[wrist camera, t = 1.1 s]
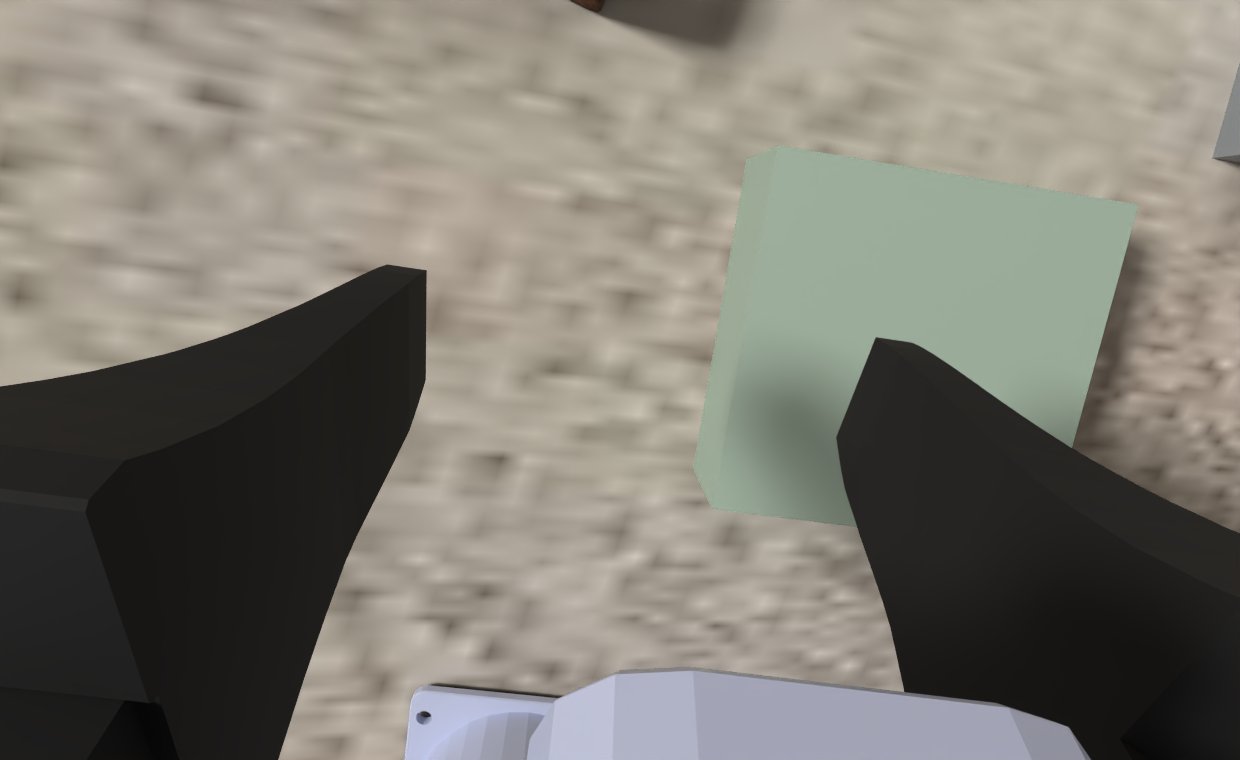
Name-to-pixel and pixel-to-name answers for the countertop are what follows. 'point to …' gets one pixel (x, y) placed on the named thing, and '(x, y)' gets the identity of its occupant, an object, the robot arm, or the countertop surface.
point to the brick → (591, 4)
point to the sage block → (891, 311)
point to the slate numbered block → (1230, 127)
